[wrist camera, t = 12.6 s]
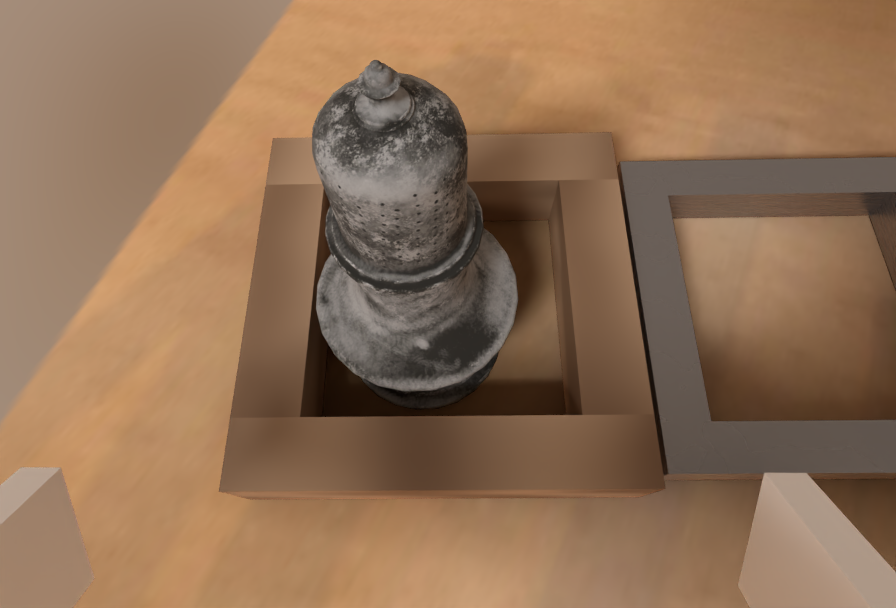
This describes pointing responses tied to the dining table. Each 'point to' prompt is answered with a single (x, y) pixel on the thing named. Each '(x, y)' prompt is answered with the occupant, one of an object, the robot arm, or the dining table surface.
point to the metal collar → (670, 324)
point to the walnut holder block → (450, 437)
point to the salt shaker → (407, 244)
